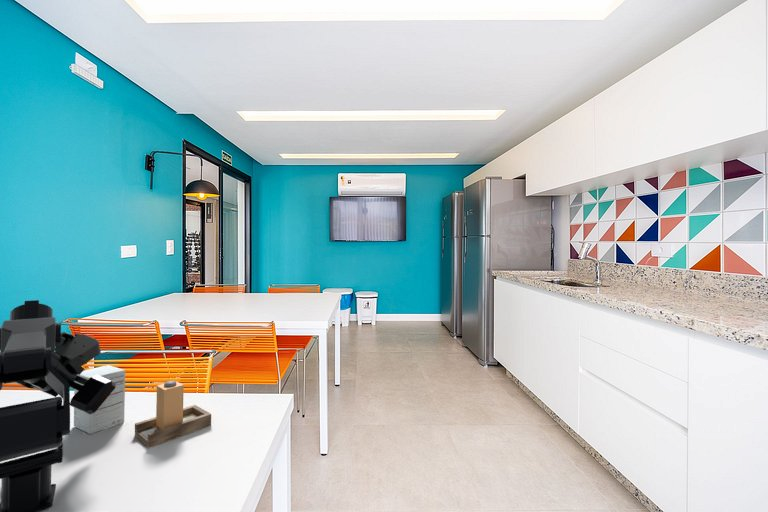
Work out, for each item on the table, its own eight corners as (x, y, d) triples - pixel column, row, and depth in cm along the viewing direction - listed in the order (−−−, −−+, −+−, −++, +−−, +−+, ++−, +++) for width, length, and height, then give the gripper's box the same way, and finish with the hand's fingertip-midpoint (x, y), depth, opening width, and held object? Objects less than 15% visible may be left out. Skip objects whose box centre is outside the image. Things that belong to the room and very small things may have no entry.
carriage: (163, 431, 79) (164, 387, 79) (156, 425, 82) (156, 382, 82) (182, 424, 83) (183, 382, 83) (175, 419, 85) (175, 378, 85)
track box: (149, 448, 75) (149, 435, 75) (134, 435, 80) (134, 423, 80) (211, 425, 86) (211, 414, 86) (194, 415, 91) (194, 404, 91)
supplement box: (72, 427, 84) (73, 372, 83) (109, 414, 90) (109, 363, 90) (88, 435, 80) (89, 378, 80) (125, 421, 87) (126, 368, 87)
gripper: (120, 345, 69) (148, 376, 81) (37, 311, 71) (77, 347, 83) (69, 401, 62) (109, 426, 74) (-22, 362, 64) (31, 393, 76)
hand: (82, 395), depth 77 cm, fingers open, 9 cm apart
